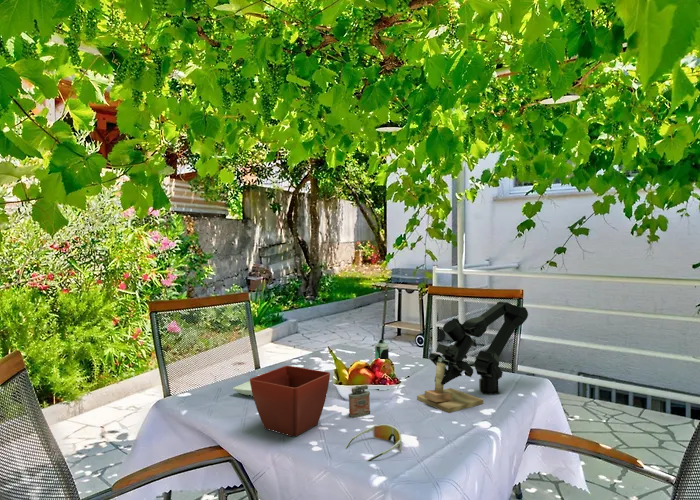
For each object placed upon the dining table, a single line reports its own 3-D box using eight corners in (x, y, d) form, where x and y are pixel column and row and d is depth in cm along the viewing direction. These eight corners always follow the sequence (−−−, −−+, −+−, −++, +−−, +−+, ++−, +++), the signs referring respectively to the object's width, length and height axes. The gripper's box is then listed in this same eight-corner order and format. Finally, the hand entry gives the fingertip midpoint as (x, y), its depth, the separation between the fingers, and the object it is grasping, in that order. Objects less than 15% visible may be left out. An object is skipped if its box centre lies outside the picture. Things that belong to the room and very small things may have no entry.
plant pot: (296, 444, 143) (295, 387, 143) (248, 431, 153) (248, 378, 153) (332, 423, 160) (331, 372, 159) (287, 412, 170) (286, 365, 169)
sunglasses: (412, 449, 139) (410, 433, 138) (371, 472, 130) (369, 454, 129) (380, 434, 150) (378, 419, 149) (341, 454, 141) (339, 438, 141)
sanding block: (440, 396, 180) (443, 361, 181) (452, 400, 175) (454, 364, 176) (424, 397, 176) (427, 361, 177) (435, 402, 171) (438, 365, 172)
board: (450, 391, 190) (450, 387, 190) (483, 403, 176) (483, 399, 176) (417, 399, 181) (417, 395, 181) (448, 413, 167) (448, 408, 167)
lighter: (351, 418, 163) (351, 389, 163) (347, 415, 166) (346, 386, 166) (372, 414, 167) (371, 385, 167) (367, 411, 170) (366, 383, 170)
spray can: (388, 390, 193) (387, 340, 193) (374, 390, 194) (373, 340, 194) (389, 386, 198) (389, 338, 198) (376, 386, 199) (375, 337, 199)
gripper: (431, 331, 186) (409, 364, 181) (467, 339, 170) (444, 376, 165) (447, 349, 190) (426, 382, 185) (483, 358, 175) (461, 394, 169)
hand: (438, 383), depth 176 cm, fingers closed on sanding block, 3 cm apart
